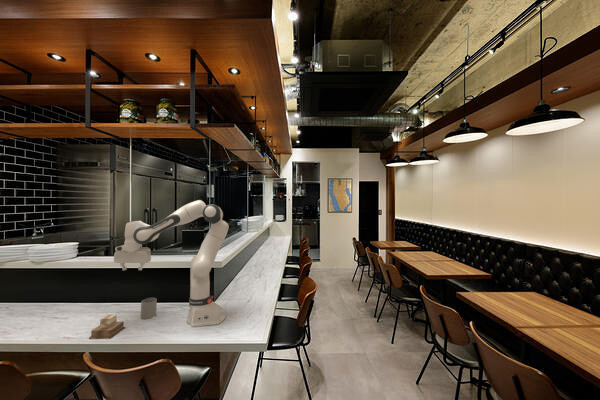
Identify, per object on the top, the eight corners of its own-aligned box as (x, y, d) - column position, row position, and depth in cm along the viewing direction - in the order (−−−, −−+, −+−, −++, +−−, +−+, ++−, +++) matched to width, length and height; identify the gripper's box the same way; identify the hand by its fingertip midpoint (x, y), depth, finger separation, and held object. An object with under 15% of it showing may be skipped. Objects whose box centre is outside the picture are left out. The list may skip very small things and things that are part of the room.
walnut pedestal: (125, 328, 139) (125, 320, 139) (111, 338, 128) (111, 330, 128) (105, 328, 138) (105, 321, 139) (88, 338, 127) (89, 331, 127)
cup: (138, 319, 149) (139, 303, 150) (143, 314, 157) (143, 298, 158) (154, 318, 152) (154, 301, 152) (158, 312, 160) (158, 297, 160)
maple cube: (116, 323, 136) (116, 314, 136) (109, 328, 131) (110, 318, 131) (107, 323, 136) (107, 314, 136) (100, 328, 131) (100, 318, 131)
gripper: (153, 246, 151) (152, 268, 151) (119, 246, 150) (118, 268, 150) (147, 248, 145) (146, 271, 145) (112, 247, 144) (111, 271, 144)
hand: (132, 270), depth 147 cm, fingers open, 8 cm apart
